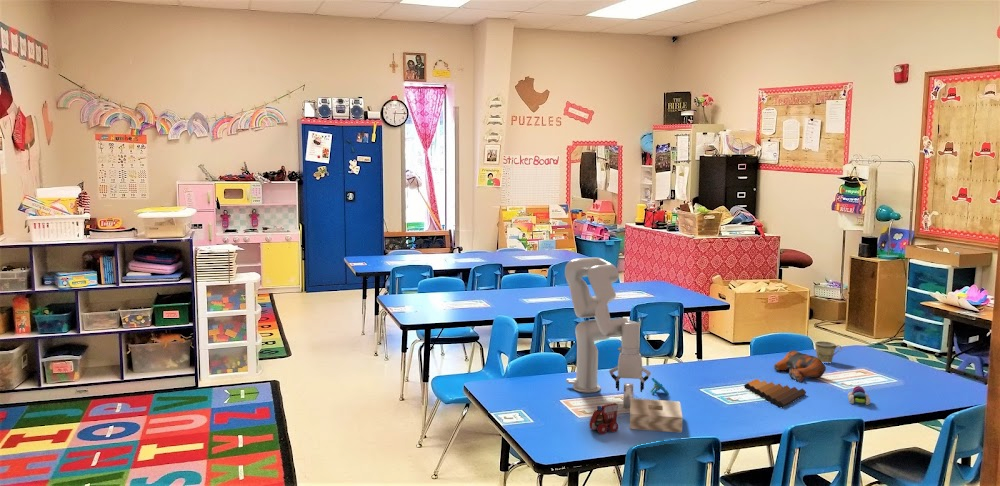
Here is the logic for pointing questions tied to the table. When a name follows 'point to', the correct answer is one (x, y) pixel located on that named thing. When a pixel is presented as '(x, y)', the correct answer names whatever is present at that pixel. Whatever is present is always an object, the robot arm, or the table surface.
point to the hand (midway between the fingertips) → (629, 390)
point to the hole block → (655, 415)
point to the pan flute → (775, 392)
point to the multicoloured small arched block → (858, 396)
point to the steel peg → (627, 395)
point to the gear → (658, 387)
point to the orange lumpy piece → (801, 365)
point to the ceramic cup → (825, 350)
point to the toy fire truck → (604, 418)
